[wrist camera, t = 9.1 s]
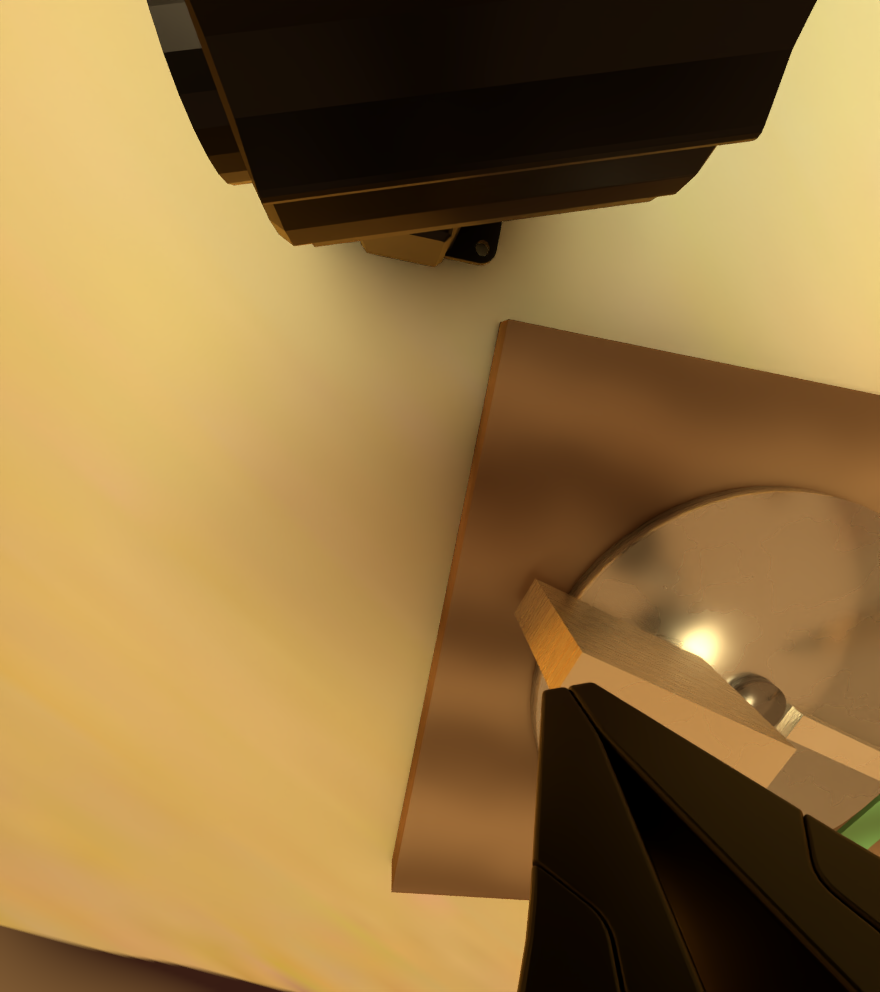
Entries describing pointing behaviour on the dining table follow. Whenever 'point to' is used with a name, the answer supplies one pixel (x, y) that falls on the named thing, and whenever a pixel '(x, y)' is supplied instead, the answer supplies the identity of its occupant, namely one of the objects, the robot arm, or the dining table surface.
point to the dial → (736, 638)
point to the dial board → (585, 555)
